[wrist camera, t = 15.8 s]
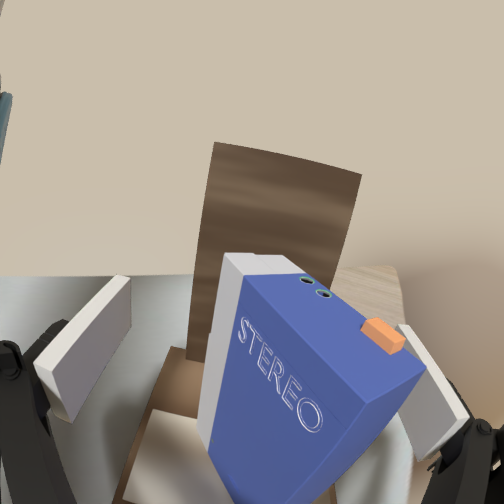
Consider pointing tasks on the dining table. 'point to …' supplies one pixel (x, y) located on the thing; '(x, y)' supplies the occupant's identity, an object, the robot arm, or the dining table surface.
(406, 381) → the walkman
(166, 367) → the book end
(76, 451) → the dining table surface
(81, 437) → the dining table surface
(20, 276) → the dining table surface
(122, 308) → the robot arm
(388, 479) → the dining table surface
